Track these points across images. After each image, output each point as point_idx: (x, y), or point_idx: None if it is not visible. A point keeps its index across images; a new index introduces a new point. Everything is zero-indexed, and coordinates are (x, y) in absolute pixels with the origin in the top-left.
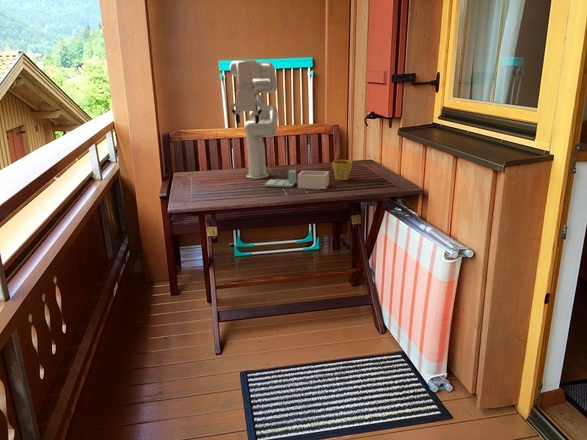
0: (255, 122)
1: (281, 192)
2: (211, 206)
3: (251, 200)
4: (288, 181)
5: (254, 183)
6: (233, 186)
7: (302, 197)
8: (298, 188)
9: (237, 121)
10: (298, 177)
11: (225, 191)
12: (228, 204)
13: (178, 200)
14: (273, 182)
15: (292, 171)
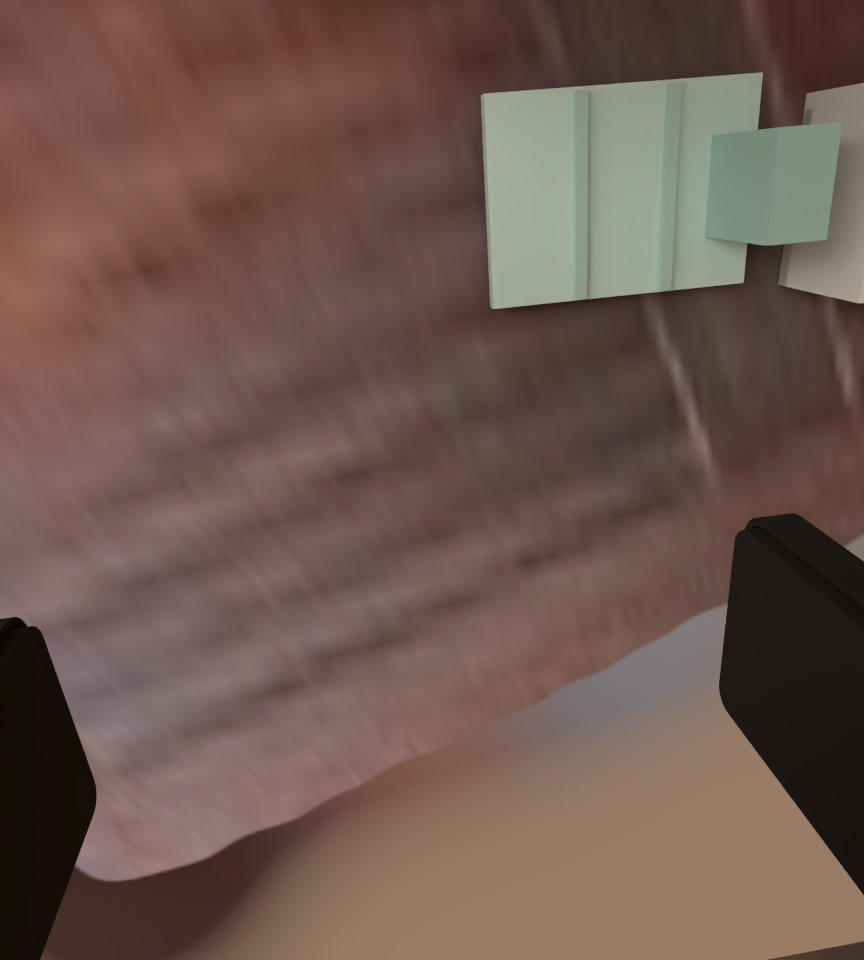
0: (739, 721)
1: (662, 426)
2: (311, 807)
3: (505, 651)
4: (692, 152)
5: (335, 181)
6: (185, 341)
7: (824, 508)
8: (781, 284)
9: (62, 870)
10: (848, 299)
11: (207, 507)
12: (394, 753)
13: None
14: (556, 224)
15: (808, 205)
